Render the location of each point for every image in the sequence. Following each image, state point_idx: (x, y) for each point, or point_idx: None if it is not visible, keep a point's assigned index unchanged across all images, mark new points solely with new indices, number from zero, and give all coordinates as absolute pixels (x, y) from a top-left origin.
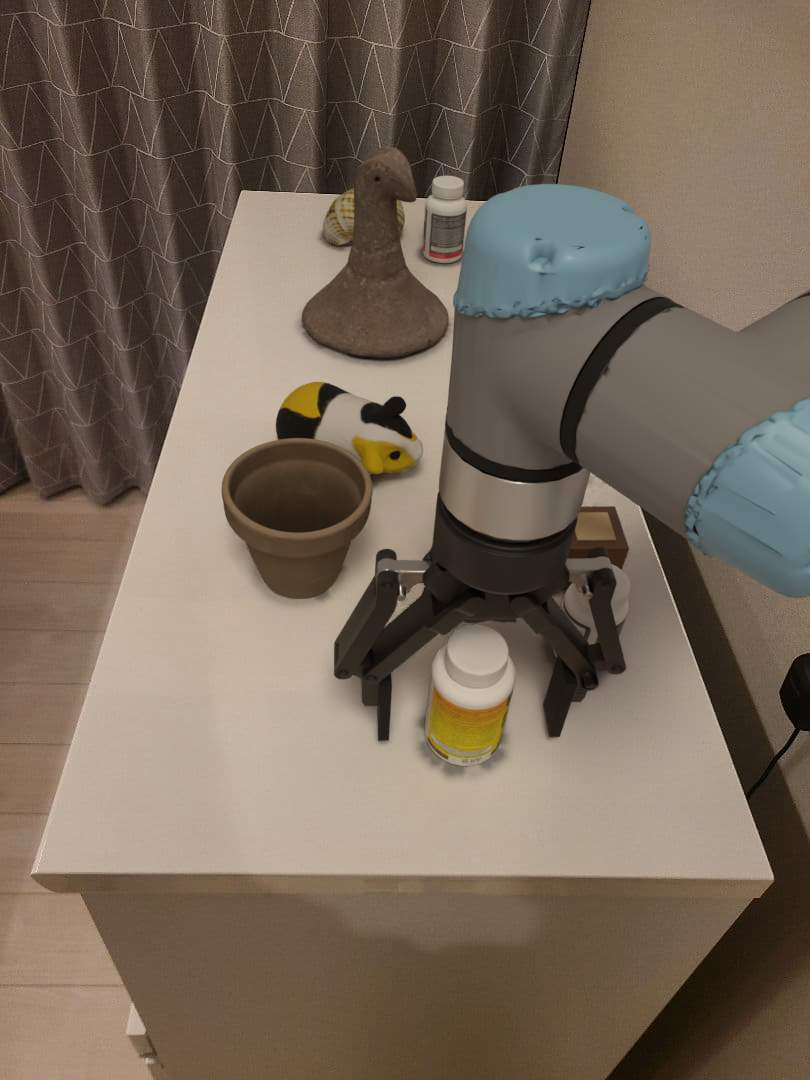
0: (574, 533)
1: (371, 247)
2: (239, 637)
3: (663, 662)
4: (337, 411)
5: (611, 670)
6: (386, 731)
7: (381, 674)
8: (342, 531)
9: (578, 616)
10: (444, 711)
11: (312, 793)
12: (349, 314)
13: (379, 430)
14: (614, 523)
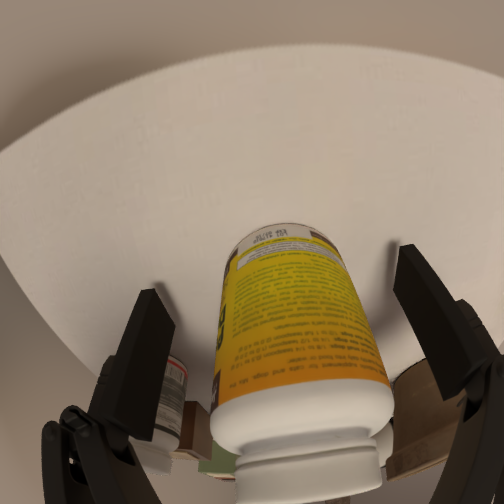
0: (190, 453)
1: (341, 500)
2: (481, 314)
3: (89, 355)
4: (380, 463)
5: (55, 433)
6: (414, 261)
7: (498, 389)
8: (433, 458)
9: (154, 435)
10: (364, 339)
11: (471, 164)
12: None
13: None
14: None
